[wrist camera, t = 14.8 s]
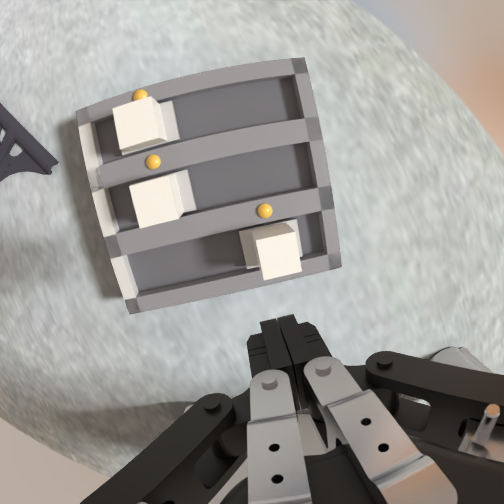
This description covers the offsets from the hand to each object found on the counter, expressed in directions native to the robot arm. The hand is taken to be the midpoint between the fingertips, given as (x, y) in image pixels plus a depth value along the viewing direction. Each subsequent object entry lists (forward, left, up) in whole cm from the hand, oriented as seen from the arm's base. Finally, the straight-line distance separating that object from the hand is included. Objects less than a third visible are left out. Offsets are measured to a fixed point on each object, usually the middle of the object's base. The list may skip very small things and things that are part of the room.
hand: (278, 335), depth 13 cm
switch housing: (+2, -6, -18) cm, 19 cm away
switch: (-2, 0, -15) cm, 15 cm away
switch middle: (+6, -6, -15) cm, 17 cm away
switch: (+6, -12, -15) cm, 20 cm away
